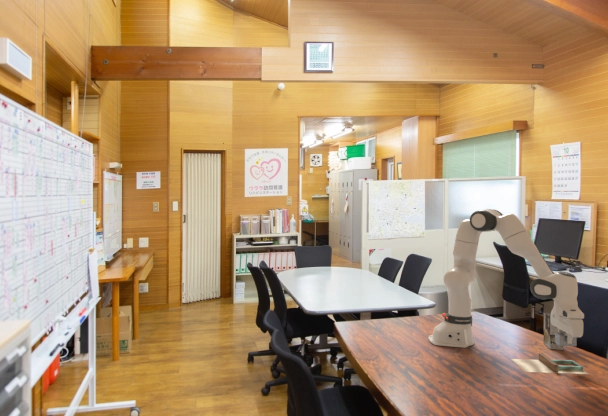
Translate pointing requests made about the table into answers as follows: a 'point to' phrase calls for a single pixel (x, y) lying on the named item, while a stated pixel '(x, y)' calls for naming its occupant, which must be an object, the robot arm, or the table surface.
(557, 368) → the lock board
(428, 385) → the table surface
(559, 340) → the block
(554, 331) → the coffee box
